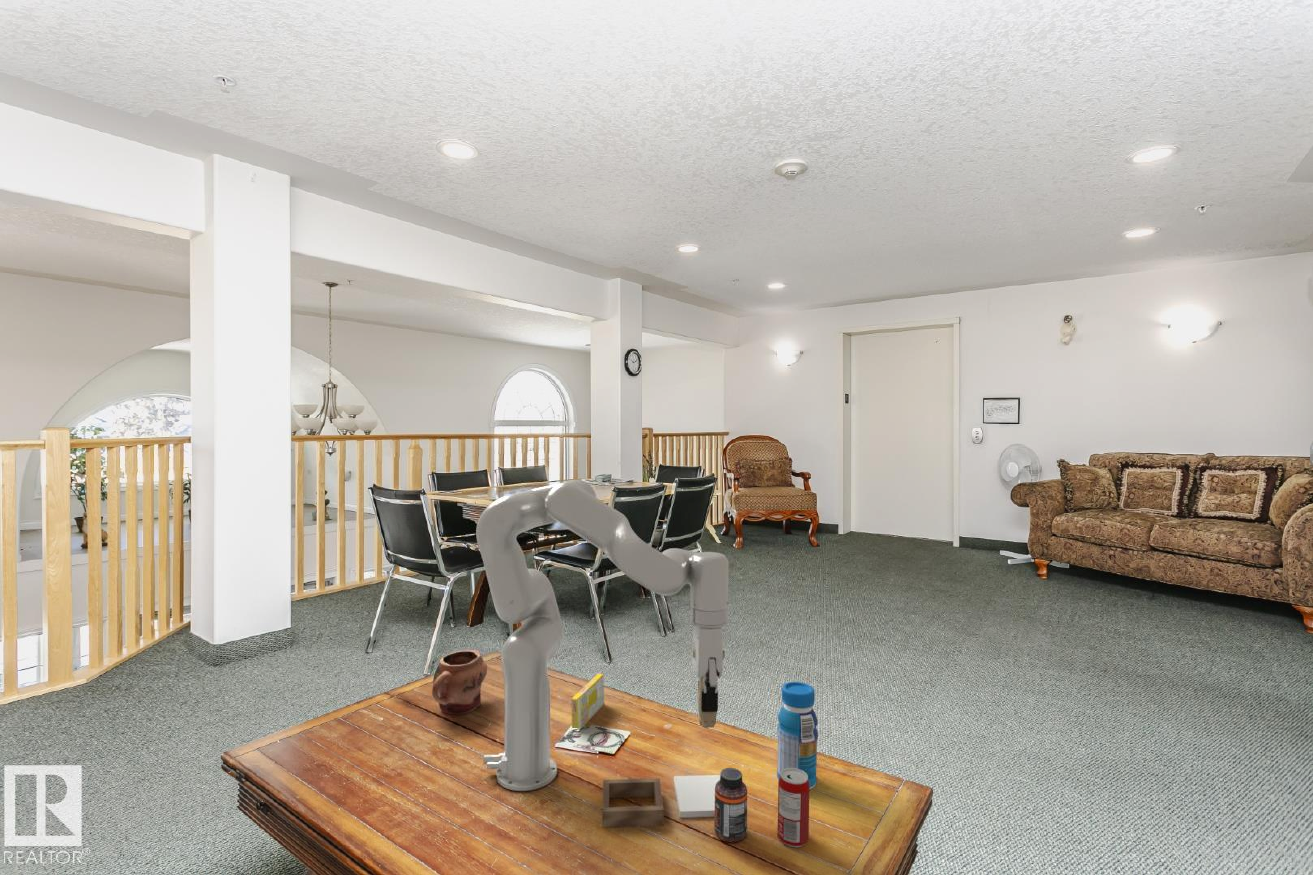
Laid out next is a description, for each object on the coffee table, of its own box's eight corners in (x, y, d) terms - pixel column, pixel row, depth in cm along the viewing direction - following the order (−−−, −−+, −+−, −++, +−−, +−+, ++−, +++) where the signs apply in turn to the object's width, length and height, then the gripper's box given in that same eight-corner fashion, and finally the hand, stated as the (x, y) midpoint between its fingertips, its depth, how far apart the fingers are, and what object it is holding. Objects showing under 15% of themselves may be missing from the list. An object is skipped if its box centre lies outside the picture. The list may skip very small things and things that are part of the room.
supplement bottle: (711, 823, 118) (712, 764, 118) (742, 822, 119) (743, 763, 119) (717, 844, 112) (718, 782, 112) (750, 843, 113) (751, 781, 113)
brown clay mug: (459, 731, 152) (459, 674, 152) (414, 725, 155) (414, 669, 154) (497, 696, 172) (497, 645, 171) (456, 691, 174) (456, 642, 174)
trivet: (679, 817, 120) (679, 811, 120) (673, 781, 132) (673, 776, 132) (741, 815, 121) (741, 809, 121) (730, 780, 133) (730, 774, 133)
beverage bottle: (773, 787, 130) (774, 692, 130) (779, 766, 138) (781, 676, 138) (814, 796, 127) (816, 698, 127) (819, 774, 135) (820, 682, 135)
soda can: (803, 828, 117) (805, 765, 117) (812, 848, 112) (813, 782, 111) (774, 828, 117) (775, 765, 117) (781, 848, 112) (782, 782, 111)
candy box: (597, 703, 169) (597, 672, 168) (604, 704, 168) (605, 673, 168) (570, 731, 153) (570, 697, 153) (578, 732, 153) (578, 698, 152)
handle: (719, 733, 123) (720, 657, 122) (688, 727, 125) (689, 652, 125) (726, 722, 127) (727, 649, 127) (696, 716, 129) (697, 644, 129)
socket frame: (602, 827, 117) (602, 811, 117) (603, 794, 127) (603, 779, 127) (663, 825, 118) (663, 809, 118) (659, 792, 128) (659, 778, 128)
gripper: (685, 603, 134) (684, 688, 134) (695, 629, 117) (694, 726, 117) (720, 603, 134) (719, 688, 135) (735, 628, 117) (734, 725, 118)
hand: (707, 704), depth 126 cm, fingers closed on handle, 4 cm apart
